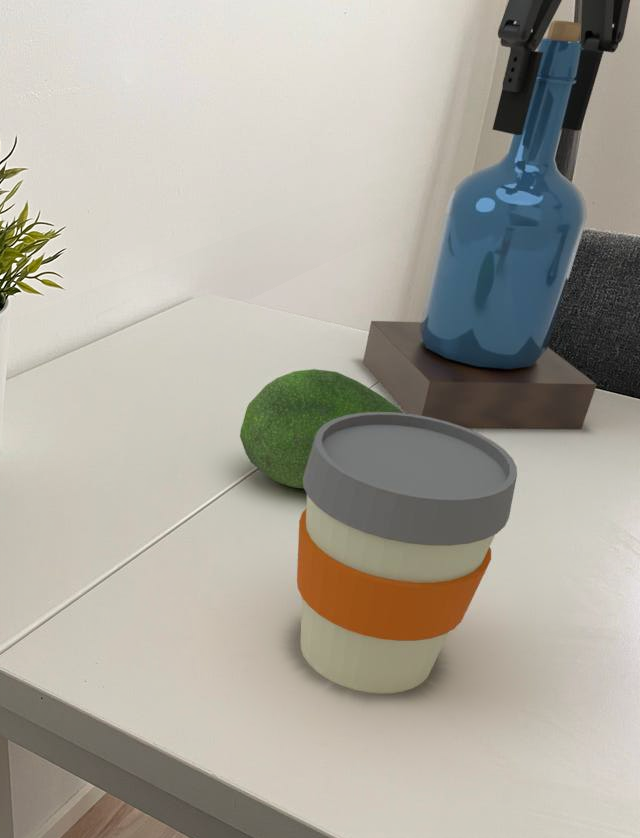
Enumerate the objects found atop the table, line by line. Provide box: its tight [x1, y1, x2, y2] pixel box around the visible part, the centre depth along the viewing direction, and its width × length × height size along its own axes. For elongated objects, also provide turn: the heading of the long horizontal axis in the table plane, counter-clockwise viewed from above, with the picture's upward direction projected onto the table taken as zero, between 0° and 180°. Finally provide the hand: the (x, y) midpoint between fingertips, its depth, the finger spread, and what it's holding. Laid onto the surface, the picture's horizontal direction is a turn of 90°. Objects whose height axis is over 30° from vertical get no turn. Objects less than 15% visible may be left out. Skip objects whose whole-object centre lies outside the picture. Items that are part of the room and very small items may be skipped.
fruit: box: [239, 368, 404, 489], centre depth 86 cm, size 15×10×10 cm, turn 81°
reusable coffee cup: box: [296, 412, 518, 695], centre depth 64 cm, size 13×13×15 cm
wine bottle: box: [419, 20, 588, 369], centre depth 98 cm, size 14×13×30 cm
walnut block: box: [362, 320, 598, 430], centre depth 108 cm, size 18×18×5 cm
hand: (537, 129), depth 94 cm, fingers open, 9 cm apart
